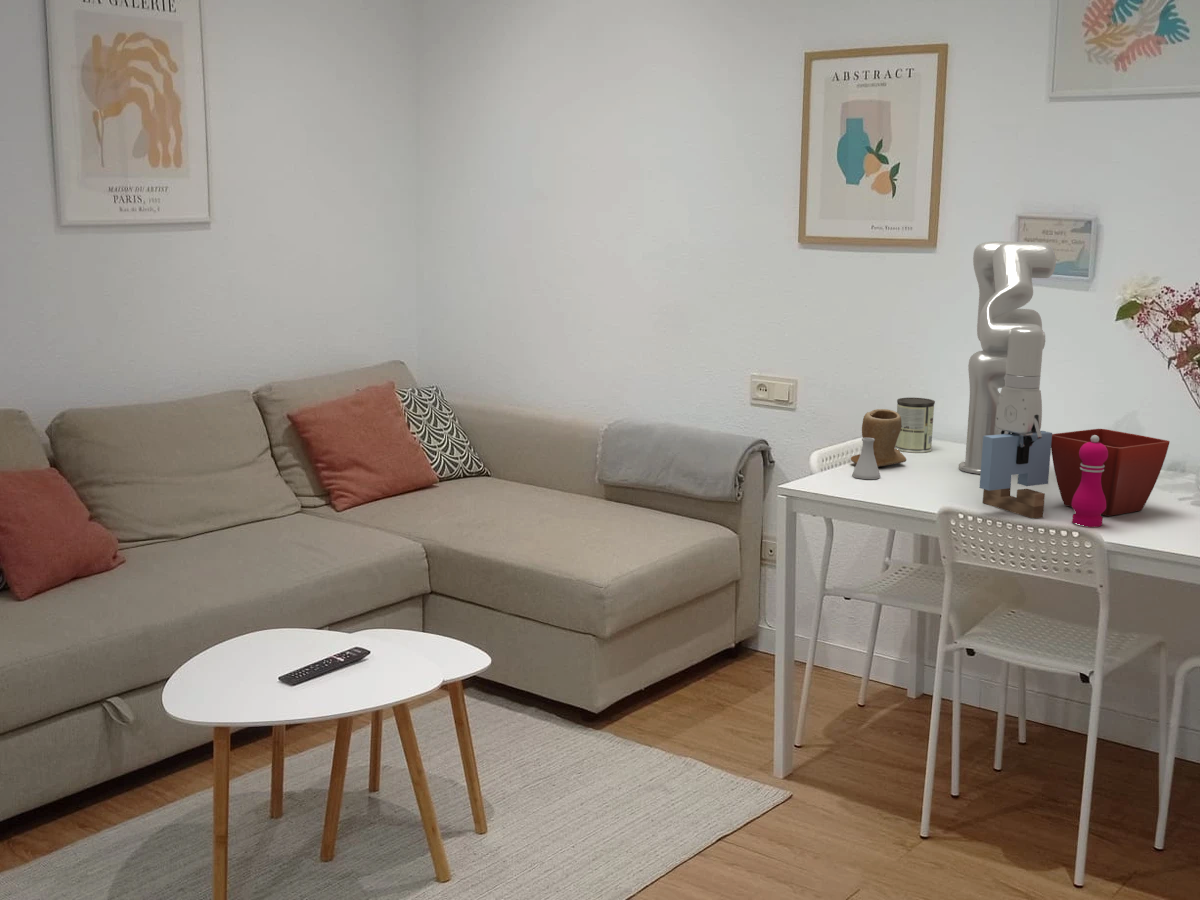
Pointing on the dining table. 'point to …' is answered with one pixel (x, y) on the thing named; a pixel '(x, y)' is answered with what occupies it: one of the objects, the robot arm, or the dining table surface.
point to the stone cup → (883, 436)
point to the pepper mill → (1090, 485)
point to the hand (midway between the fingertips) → (1016, 461)
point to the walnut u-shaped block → (1017, 501)
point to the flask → (867, 462)
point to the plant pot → (1111, 467)
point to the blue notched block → (1013, 461)
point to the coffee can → (915, 424)
